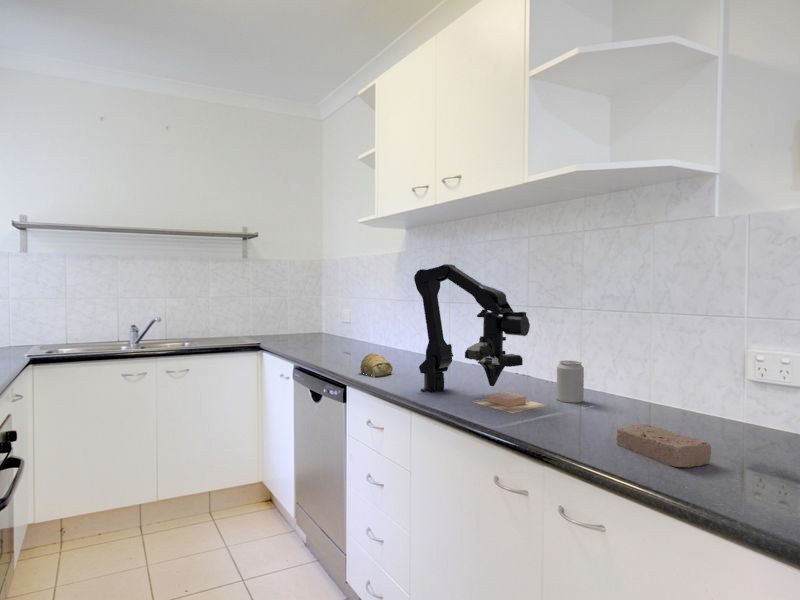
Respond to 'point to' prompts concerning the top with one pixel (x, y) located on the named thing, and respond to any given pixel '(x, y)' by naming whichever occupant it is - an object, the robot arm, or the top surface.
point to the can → (570, 381)
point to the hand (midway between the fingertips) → (492, 386)
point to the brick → (664, 445)
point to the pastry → (375, 365)
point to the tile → (507, 399)
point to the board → (511, 409)
